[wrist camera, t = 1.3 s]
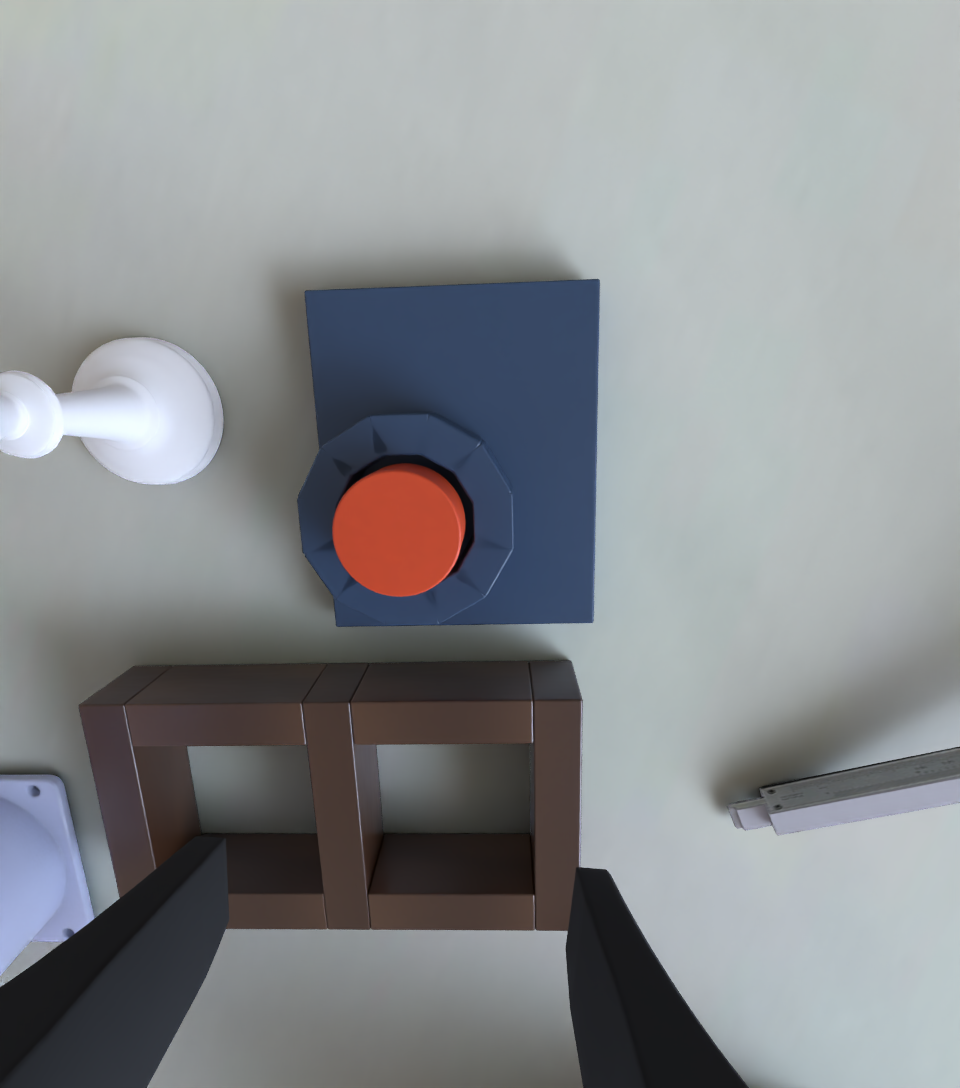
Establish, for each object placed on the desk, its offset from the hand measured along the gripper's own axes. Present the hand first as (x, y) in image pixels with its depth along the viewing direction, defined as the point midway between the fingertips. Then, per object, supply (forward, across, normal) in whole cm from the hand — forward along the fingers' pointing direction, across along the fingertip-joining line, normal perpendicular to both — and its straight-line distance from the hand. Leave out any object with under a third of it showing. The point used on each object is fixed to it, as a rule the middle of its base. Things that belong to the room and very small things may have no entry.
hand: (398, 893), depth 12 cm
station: (+10, 0, -8) cm, 13 cm away
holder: (+10, +3, +5) cm, 12 cm away
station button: (+8, +1, -6) cm, 10 cm away
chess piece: (+10, +10, -9) cm, 17 cm away
